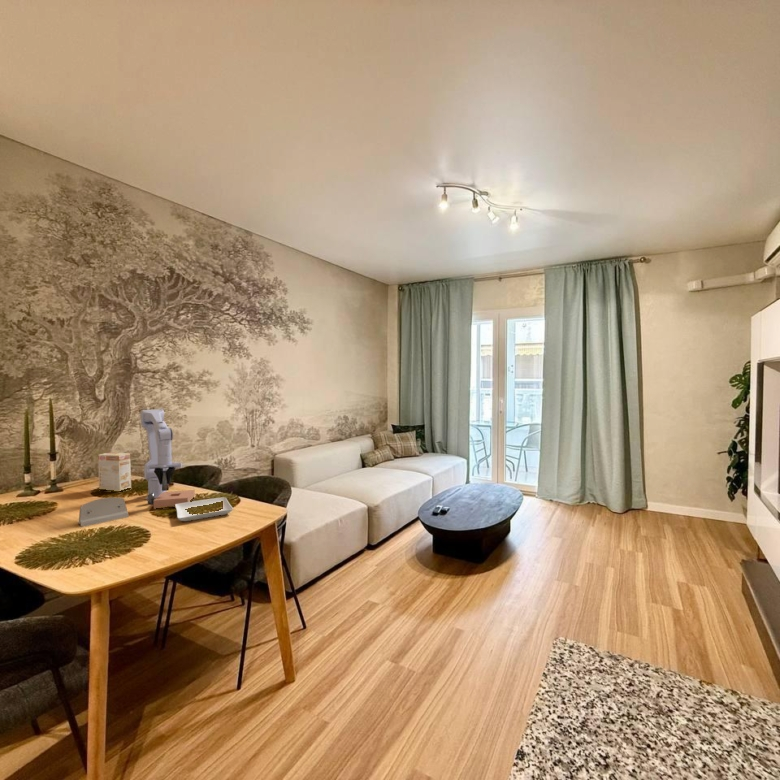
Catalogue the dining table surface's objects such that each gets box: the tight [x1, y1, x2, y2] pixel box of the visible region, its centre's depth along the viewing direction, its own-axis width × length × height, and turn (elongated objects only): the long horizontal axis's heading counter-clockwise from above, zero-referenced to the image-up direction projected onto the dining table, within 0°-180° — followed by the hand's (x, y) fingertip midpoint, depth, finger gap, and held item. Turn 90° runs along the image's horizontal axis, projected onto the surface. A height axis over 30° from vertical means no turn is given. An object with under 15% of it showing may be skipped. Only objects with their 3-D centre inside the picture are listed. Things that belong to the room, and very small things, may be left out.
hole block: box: [153, 489, 196, 510], centre depth 186 cm, size 14×14×4 cm
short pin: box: [146, 493, 156, 505], centre depth 186 cm, size 3×3×4 cm
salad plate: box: [175, 496, 234, 522], centre depth 172 cm, size 21×21×3 cm
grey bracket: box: [78, 496, 129, 528], centre depth 165 cm, size 17×5×10 cm, turn 136°
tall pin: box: [161, 470, 170, 492], centre depth 184 cm, size 3×3×9 cm
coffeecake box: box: [97, 452, 132, 491], centre depth 211 cm, size 15×7×20 cm, turn 72°
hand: (165, 483), depth 184 cm, fingers closed on tall pin, 3 cm apart
